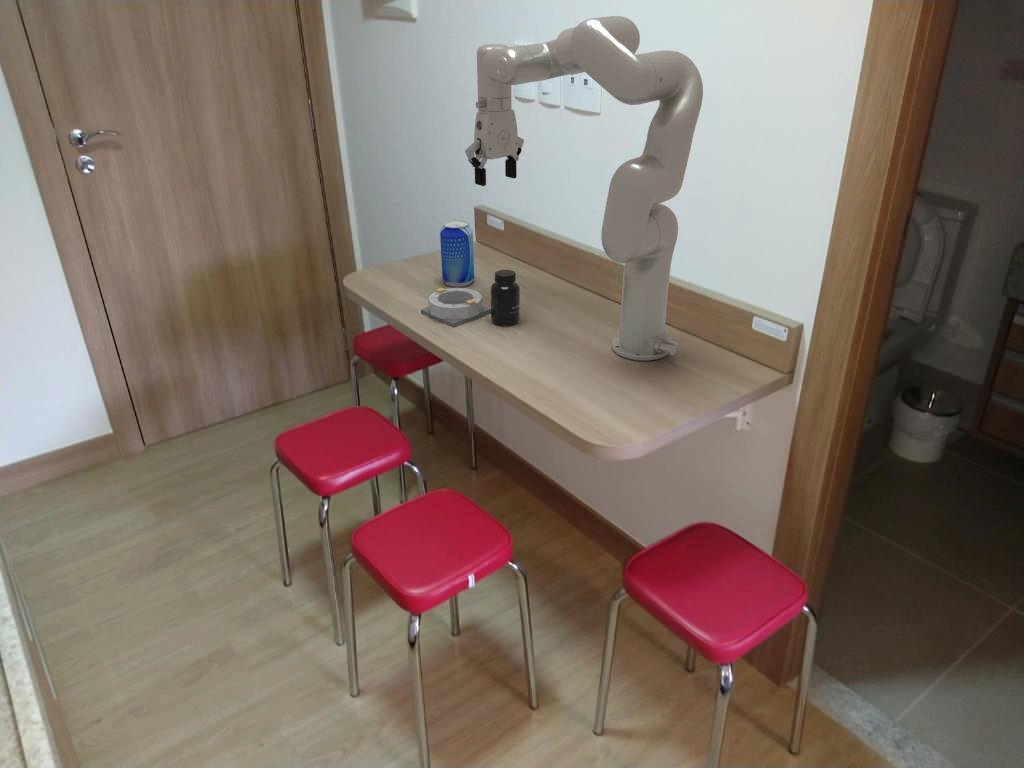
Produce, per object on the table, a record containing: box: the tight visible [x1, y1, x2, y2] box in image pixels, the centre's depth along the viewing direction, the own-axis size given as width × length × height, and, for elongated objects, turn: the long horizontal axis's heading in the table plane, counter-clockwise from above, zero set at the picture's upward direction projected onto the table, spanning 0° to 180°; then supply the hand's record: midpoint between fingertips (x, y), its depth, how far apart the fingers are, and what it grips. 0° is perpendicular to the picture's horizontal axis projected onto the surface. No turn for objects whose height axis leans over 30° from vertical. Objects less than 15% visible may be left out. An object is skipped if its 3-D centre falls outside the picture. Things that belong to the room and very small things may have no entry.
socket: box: [420, 287, 491, 328], centre depth 190 cm, size 12×12×5 cm
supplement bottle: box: [490, 269, 521, 327], centre depth 184 cm, size 7×7×12 cm
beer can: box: [439, 219, 475, 288], centre depth 206 cm, size 8×8×16 cm
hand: (496, 181), depth 186 cm, fingers open, 9 cm apart
